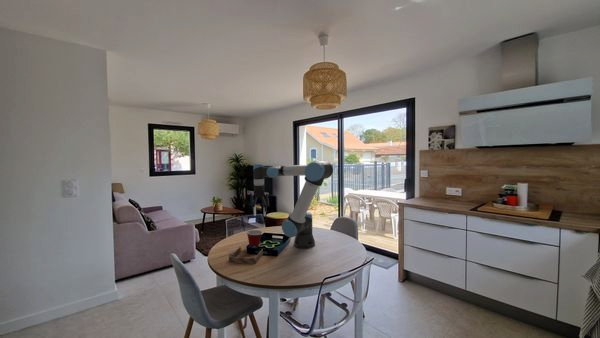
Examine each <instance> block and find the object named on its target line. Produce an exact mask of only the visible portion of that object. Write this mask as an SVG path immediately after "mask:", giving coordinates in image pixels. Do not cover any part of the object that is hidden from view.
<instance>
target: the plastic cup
mask: <svg viewBox="0 0 600 338" xmlns="http://www.w3.org/2000/svg"><path fill="white" fill-rule="evenodd" d="M246 234H247V239H248V245H249V247H250V246H259V247H260V243H261V237H262V234H263V231H262V230H259V229H250V230H247V231H246Z"/></svg>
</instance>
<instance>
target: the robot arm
mask: <svg viewBox="0 0 600 338" xmlns="http://www.w3.org/2000/svg"><path fill="white" fill-rule="evenodd" d="M252 169H253V192H250V193H249V195H250V196H249V197H250V198H249V199H250V200H249V206H250V207H251V208H252V209H251V210H252V212H253V217H256V216H257V207H256V203H257V200H258V198H260V199H261V202H262V204H263V217H266V216H267V215H266V213H267V212H268V207H270V200H269V192H266V191H265V178H271V179H272V178H277V177H287V176H288V177H293V176H295V177H296V176H297V177H299V176H303V177H304V181H305V183H304V184H303V187H302V189H301V191H300V194H299V197H298V199H297V200H296V203H295V206H294V208H293V210H292V212H290V213H288V217H287V218H286V219H285V220H284V221H283V222H282V223H281V230H282V232H283V233H284V236H286V237H288V238H293V237H294V240H293V245H294V247H296V248H299V249H310V248H313V247H314V246H315V245H316V241H315V237H314V235H313V234H314V233H313V214H312V213H311V212H308V211H309V208H310V206H311V204H312V202H313V199H314V197H315V195H316V193H317V191H318V188H319V187H321V186H322V185H323V183H324V181H325V180H327V179H329V178H330V177H331V176H332V175H333V173H334V167H333V165H332V163H331V162H329V161H326V160H320V161H318V160H314V161H311V162H309V163H308V164H294V165H293V164H292V165H275V166H265V164H264V163H254V164H253V168H252ZM264 195H265V196H264Z"/></svg>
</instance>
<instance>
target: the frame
mask: <svg viewBox="0 0 600 338" xmlns="http://www.w3.org/2000/svg"><path fill="white" fill-rule="evenodd" d="M241 251H242V248H241V247H240V246H239V247H238V248H237V249H236V250H235V252H234V253H233V254H232V255H229V256H228V262H229V263H243V264H257V263H258V261H259V260H260V259H261V258H262V256H263V255H264V254H263V249H261V250H259V252H258V253H257V254H256V256H255V257H246V256H244V257H243V256H238V255H240V253H241Z"/></svg>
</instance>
